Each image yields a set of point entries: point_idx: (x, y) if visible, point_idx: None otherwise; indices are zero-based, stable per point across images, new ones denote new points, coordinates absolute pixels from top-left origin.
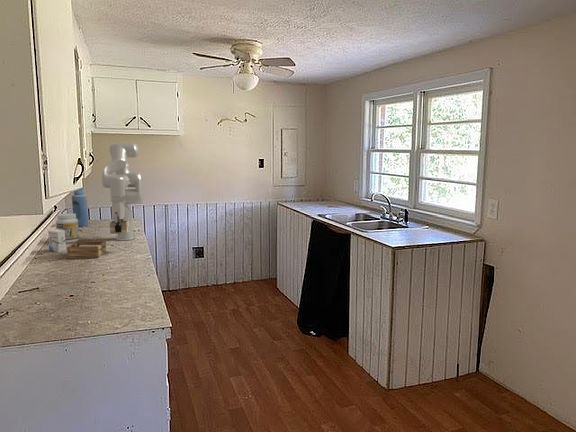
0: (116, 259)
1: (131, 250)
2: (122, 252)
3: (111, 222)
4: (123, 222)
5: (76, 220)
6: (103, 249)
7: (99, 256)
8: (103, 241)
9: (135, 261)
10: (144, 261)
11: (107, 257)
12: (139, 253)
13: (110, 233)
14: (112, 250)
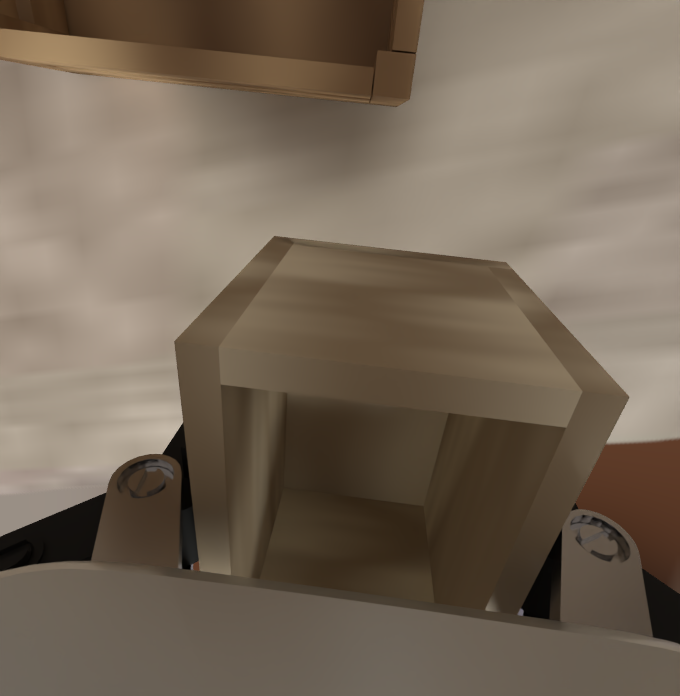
0: (46, 280)
1: None
2: None
3: (290, 392)
4: (462, 600)
5: None
6: (276, 91)
7: (111, 76)
8: (388, 60)
9: (10, 421)
10: (22, 470)
11: (112, 178)
12: None
13: (272, 242)
14: (441, 176)
